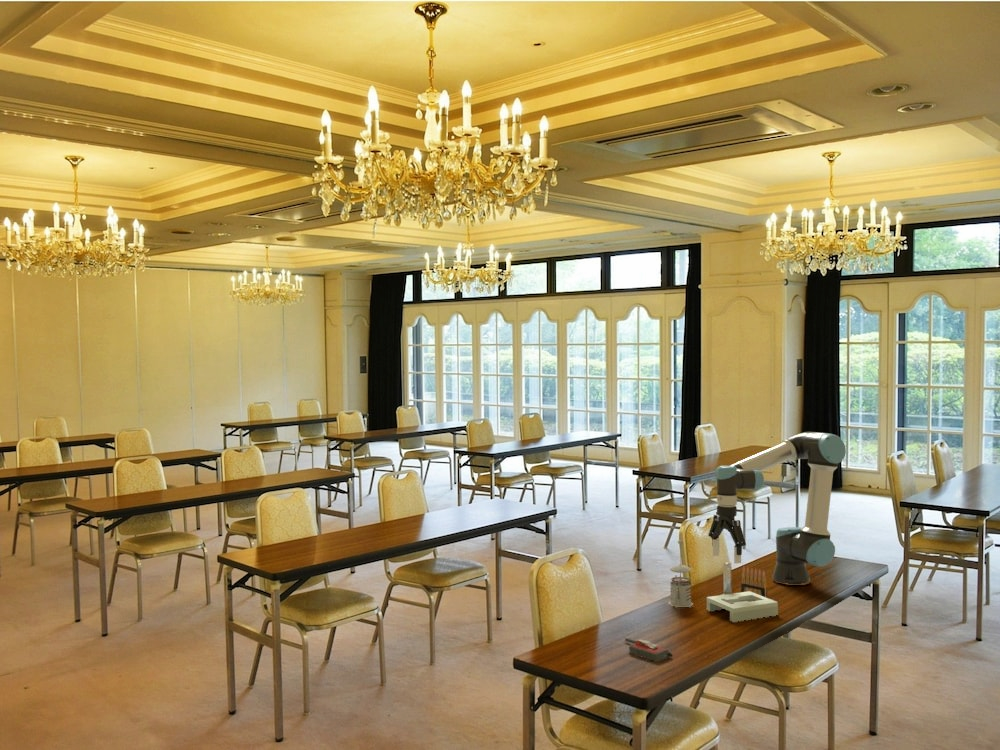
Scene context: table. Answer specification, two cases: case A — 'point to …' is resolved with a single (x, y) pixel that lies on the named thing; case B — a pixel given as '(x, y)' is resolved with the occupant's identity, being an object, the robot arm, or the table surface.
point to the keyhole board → (743, 605)
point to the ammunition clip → (754, 582)
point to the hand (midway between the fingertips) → (726, 559)
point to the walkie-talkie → (648, 650)
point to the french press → (680, 586)
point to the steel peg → (727, 577)
